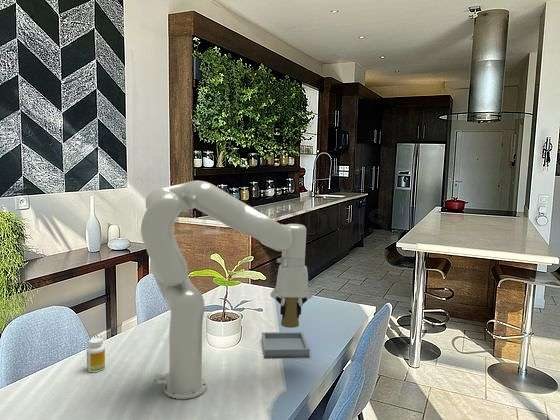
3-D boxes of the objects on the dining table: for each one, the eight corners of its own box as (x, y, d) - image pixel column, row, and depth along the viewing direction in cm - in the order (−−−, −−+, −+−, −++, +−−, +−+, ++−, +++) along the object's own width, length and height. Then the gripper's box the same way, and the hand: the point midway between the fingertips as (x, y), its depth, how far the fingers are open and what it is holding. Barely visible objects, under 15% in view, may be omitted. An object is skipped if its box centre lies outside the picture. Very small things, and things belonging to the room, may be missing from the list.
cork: (297, 328, 143) (299, 295, 142) (279, 326, 144) (280, 293, 143) (300, 322, 149) (302, 290, 148) (282, 320, 150) (284, 288, 149)
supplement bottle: (108, 367, 145) (108, 338, 144) (95, 374, 140) (94, 344, 139) (96, 363, 147) (96, 335, 146) (83, 370, 143) (82, 341, 142)
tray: (264, 358, 155) (264, 349, 155) (261, 339, 171) (261, 332, 171) (309, 357, 157) (309, 349, 157) (302, 339, 173) (302, 332, 173)
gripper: (268, 264, 140) (265, 320, 142) (320, 265, 142) (317, 320, 143) (266, 259, 147) (264, 312, 149) (316, 260, 149) (313, 313, 151)
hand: (290, 316), depth 146 cm, fingers closed on cork, 4 cm apart
